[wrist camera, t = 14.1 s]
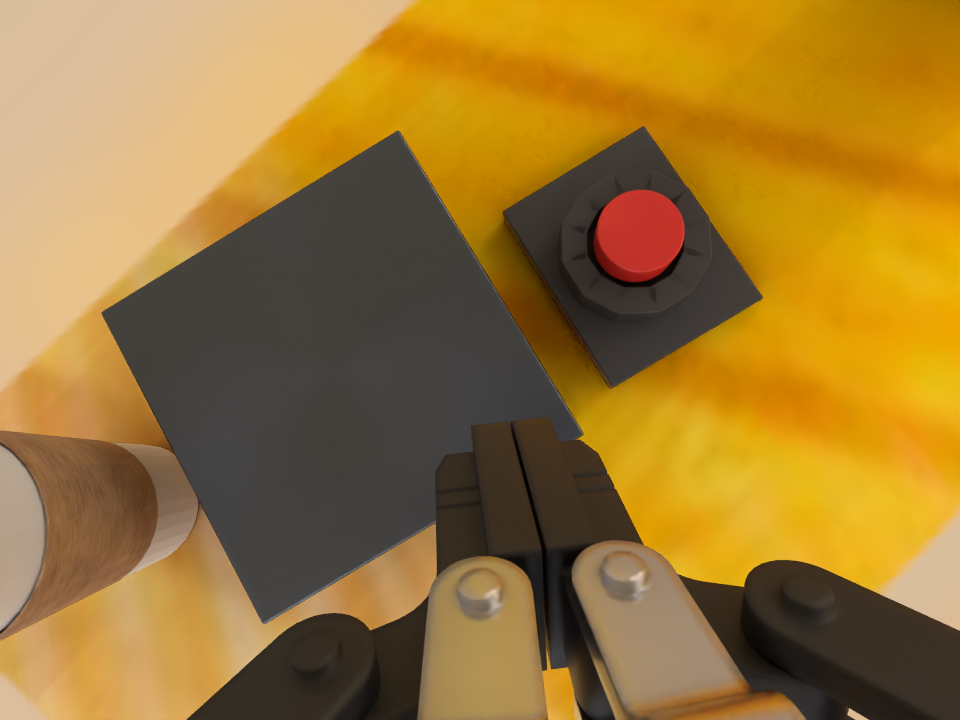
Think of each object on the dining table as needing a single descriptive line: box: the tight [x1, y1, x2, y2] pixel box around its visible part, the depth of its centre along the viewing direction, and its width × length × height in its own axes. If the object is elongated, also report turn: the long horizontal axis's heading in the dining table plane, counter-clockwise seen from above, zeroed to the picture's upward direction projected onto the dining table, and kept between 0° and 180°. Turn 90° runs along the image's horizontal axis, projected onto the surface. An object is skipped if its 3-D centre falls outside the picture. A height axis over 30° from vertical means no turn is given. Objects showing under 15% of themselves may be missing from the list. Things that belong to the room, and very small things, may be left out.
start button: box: [593, 190, 685, 282], centre depth 25 cm, size 4×4×2 cm
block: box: [503, 126, 763, 388], centre depth 27 cm, size 8×10×3 cm
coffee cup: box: [0, 431, 198, 641], centre depth 22 cm, size 8×8×15 cm
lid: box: [102, 131, 583, 624], centre depth 21 cm, size 12×13×1 cm
